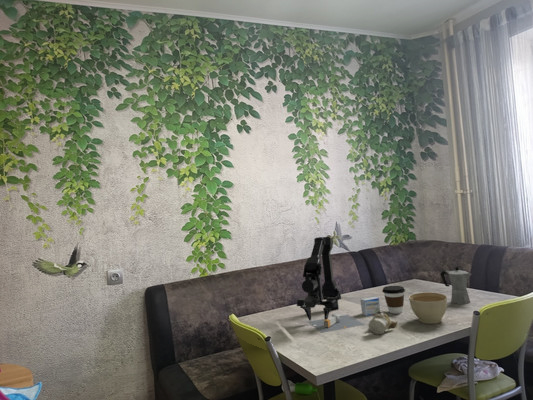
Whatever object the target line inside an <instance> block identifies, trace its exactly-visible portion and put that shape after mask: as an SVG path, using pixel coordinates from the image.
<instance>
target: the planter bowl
mask: <svg viewBox="0 0 533 400" xmlns="http://www.w3.org/2000/svg"><path fill="white" fill-rule="evenodd" d="M408 300H409V304H410V307H411V310H412V312H413V314H414V316H415V317H417V319H418V321H419V322H420V323H423V324H430V325H431V324H438V323H441V322H442V318H443V317H444V315H445V313H446V311H447V308H448V307H447V306H448V304H447V303H448V302H447V301H448V296H447V295H446V294H443V293H439V292H430V291H429V292H417V293H412V294H410V295H409V296H408Z"/></svg>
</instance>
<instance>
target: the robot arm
mask: <svg viewBox="0 0 533 400" xmlns="http://www.w3.org/2000/svg"><path fill="white" fill-rule="evenodd" d="M313 240H314V241H313V242H314V243H313V247H312V251H311V253H310V254H311V255H310V257H308V258H307V260H306V261H305V264H304V266H303V276H302V278H304V281H303V282H302V283H301V288H302V290H303V292H305V293H307V296H305V297H300V298H297V300H296V306H297V307H300V309H302V310H304V312H305V314H306V316H307V318H308V322H310V321H312V308H315V307H316V306H324V307H323V308H322V309H323V313H324V314H323V316H324V318H323V319H328V318H329V315H330V312H331V311H338V310H339V309H340V308H339V300H342V294H341V292H340V290H339V288H338V284H337V282H336V281H335V280H334V274H333V266H332V265H333V263H332V256H331V252H332V250H333V247H334V239H333V237H331V236H319V237H315V238H314V239H313ZM321 260H322V263H321ZM322 272H323V278H324V282H323V284H322V283H321V282H322V281H321V275H322Z"/></svg>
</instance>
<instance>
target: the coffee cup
mask: <svg viewBox="0 0 533 400" xmlns="http://www.w3.org/2000/svg"><path fill="white" fill-rule="evenodd" d="M405 292H406V288H405V287H404V286H401V285H386V286H384V287H383V288H382V293H383V294H384V298H385V302H386V307H387V309H388V311H389V313H391V314H395V315H396V314H401V313H403V311H404V305H405V304H404V303H405V302H404V299H405V294H404V293H405Z"/></svg>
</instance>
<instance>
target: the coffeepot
mask: <svg viewBox="0 0 533 400" xmlns="http://www.w3.org/2000/svg"><path fill="white" fill-rule="evenodd" d="M439 274H440V277H441V279H442V281H443V284H444V286H445V287H450V285H451V298H450V299H451V303H453V304H457V305H464V304H470V303H471V299H470V297H469V296H470V295H469V292H468V289H467V286H468V280H469V278H470V277H471V275H472V273H470V272H467V271H466V270H461V269H459V266H455V270H442V271H441V272H440V273H439ZM445 275H446V276H447V275H448V277H449V281H450V284H448V282H447V279H446V277H445Z"/></svg>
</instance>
